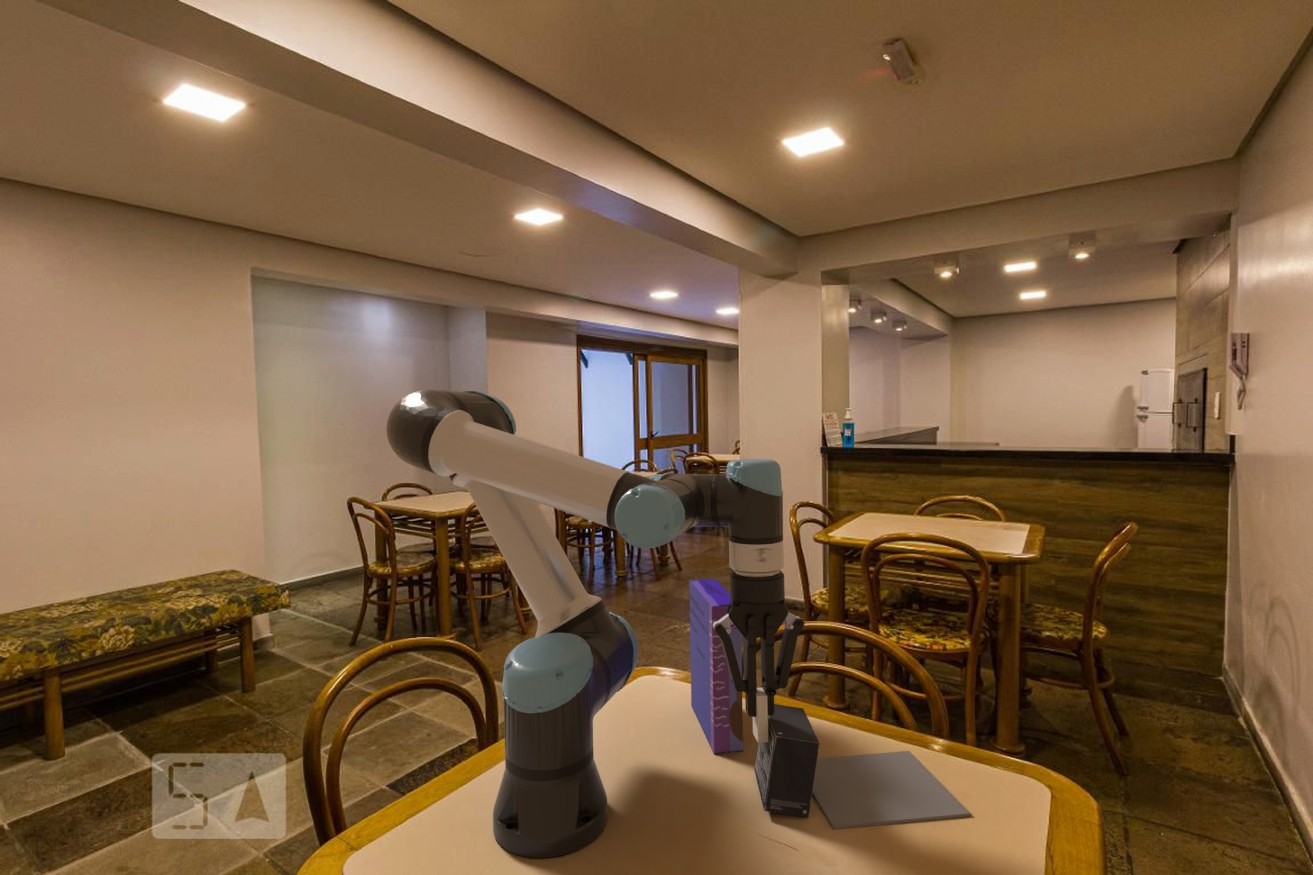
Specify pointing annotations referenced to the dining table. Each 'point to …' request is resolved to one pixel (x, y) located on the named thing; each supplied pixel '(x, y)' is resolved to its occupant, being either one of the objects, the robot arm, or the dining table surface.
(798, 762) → the small box
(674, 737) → the dining table surface
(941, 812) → the mat
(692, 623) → the cereal box
